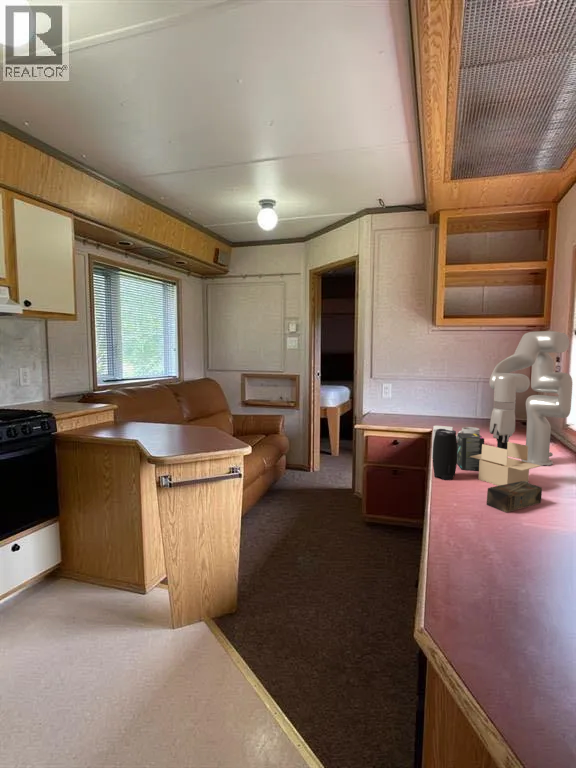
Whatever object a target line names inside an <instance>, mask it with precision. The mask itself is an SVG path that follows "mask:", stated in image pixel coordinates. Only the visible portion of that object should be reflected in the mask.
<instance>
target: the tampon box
mask: <svg viewBox="0 0 576 768" xmlns="http://www.w3.org/2000/svg"><path fill="white" fill-rule="evenodd" d="M457 433H458V432H457ZM456 436H457V435H456ZM482 444H484V445H485V438H484V437H483V436H482V435H479V434H471V433H462V432H461V433H458V436H457V465H456V466H458V467H459V469H460V470H461V471H474V472H475V471H476V472H479V460H480V459H476V458H472V457H470V456H474V455H479V454H482ZM482 460H483V459H482Z"/></svg>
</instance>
